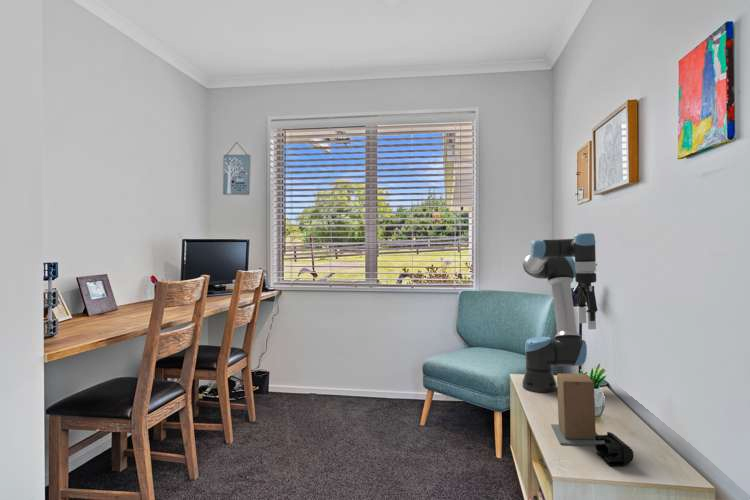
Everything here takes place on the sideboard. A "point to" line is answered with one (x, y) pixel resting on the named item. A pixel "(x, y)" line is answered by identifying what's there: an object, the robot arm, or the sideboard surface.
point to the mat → (579, 442)
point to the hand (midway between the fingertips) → (587, 326)
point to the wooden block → (576, 406)
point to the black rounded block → (613, 450)
